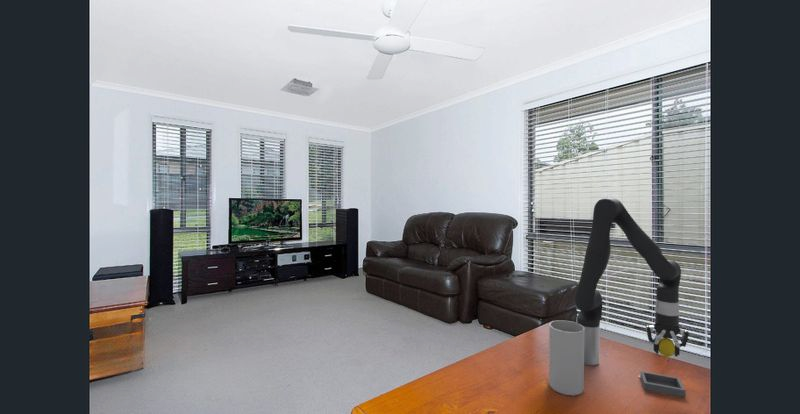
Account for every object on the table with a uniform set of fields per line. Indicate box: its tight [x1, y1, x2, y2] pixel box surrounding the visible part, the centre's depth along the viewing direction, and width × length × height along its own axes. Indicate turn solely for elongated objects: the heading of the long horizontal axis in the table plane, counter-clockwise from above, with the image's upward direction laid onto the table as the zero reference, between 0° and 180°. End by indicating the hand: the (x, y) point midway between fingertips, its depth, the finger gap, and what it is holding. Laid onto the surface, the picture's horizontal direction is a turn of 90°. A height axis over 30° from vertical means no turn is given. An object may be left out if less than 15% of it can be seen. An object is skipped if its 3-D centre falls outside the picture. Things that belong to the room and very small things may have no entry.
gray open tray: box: [639, 371, 686, 399], centre depth 146 cm, size 13×10×3 cm
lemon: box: [658, 338, 675, 358], centre depth 145 cm, size 6×6×8 cm
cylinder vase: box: [548, 320, 585, 397], centre depth 147 cm, size 12×12×25 cm
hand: (666, 354), depth 145 cm, fingers closed on lemon, 5 cm apart
